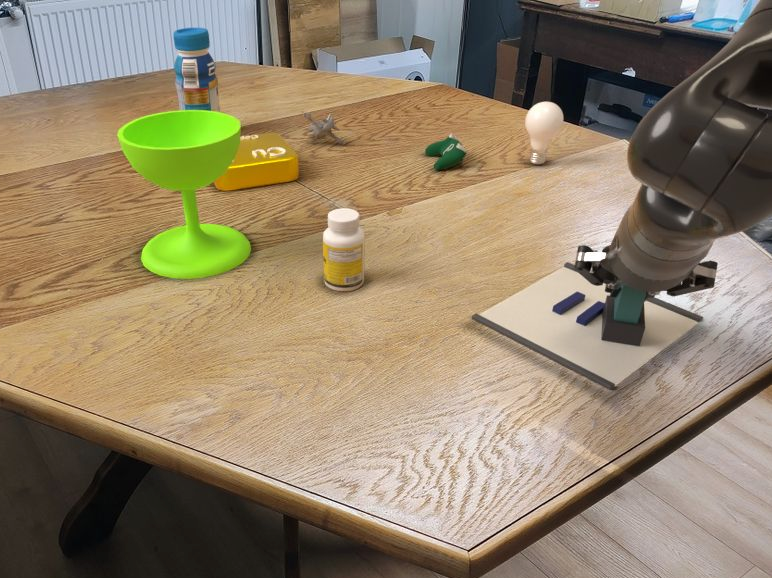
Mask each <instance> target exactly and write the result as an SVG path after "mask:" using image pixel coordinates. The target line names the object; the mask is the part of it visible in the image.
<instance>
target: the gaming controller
mask: <svg viewBox="0 0 772 578" xmlns="http://www.w3.org/2000/svg"><path fill="white" fill-rule="evenodd" d="M424 153H425V155H426V156H428V157H434V156H441V157H439V158H438V159H436V161H435V162H434V163H433V169H435V171H437V172H438V171H443V170H446V169H450V168H451V167H453V166H455V165H457V164H459V163H460V162H463V161H464V158H465V157H466V156H467V153H468V152H467V150H466V147H464V144H462V142H460V141H459V138H458V137H457V136H456V135H455V134H453V133H452V132H451V133H450V134H449V135H448V136H447V137H446V138H444V139H443V140H439V141H435V142H433V143H430V144H429V145H427V147H426V148H425V150H424Z"/></svg>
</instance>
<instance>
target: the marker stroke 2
mask: <svg viewBox="0 0 772 578" xmlns="http://www.w3.org/2000/svg"><path fill="white" fill-rule="evenodd" d="M604 305H605V303H603V302H600V301H598V302H596V303H595V304H594V305H592V306H591V307H590V308H588V309H587V310H586V311H584V312H583V313H582V314H580V315H579V316H578V317H577V320H576V322H577V323H579V324H581V325H584V326H586V325H587V324H588V323H590V322H591V321H592V320H593V319H595V318H596V317H597V316H599V315H600V314H601V313H603V309H604Z"/></svg>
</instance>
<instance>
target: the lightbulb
mask: <svg viewBox="0 0 772 578" xmlns="http://www.w3.org/2000/svg"><path fill="white" fill-rule="evenodd" d="M564 117H565V116H564V113H563V110H562V108H561V107H560V106H559V105H558V104H556V103H555V102H552V101H540V102H538V103H535V104H534V105H532V107H531V108H529V110H528V111H527V113H526V115H525V119H524V127H525V130H526V133H527V135H528V136H529V141H530V142H529V144H530V148H531V149H530V156H529V162H530V163H531V164H532V165H534V166H539V165H542V164H544V163H546V156H547V152H548V149H549V147H550V145H551V144H552V141H553V139H554V138H555V137H556V136H557V135H558V134H559V133H560V131H561V129H562V128H563V125H564Z"/></svg>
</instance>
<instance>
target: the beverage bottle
mask: <svg viewBox="0 0 772 578" xmlns="http://www.w3.org/2000/svg"><path fill="white" fill-rule="evenodd" d="M209 33H210V32H209V30H208V29H207V28H204V27H183V28H179V29H175V30H174V31H173V36H172V37H173V42H174V43H173V45H174V48H175V50H176V52H178V54H177V56H176V58H175V60H174V66H173V69H174V70H173V71H174V73H175V76H176V78H175V81H174V83H175V89H176V93H177V101H178V109H179V111H180V110H207V111H216V112H221V105H220V96H219V79H218V76H217V74H216V70H217V66H216V63H215V60H214V58H213V57H212V55H211V53H210V52H209V51H208V50H209V49H210V44H211V43H210V42H211V41H210V34H209Z"/></svg>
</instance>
